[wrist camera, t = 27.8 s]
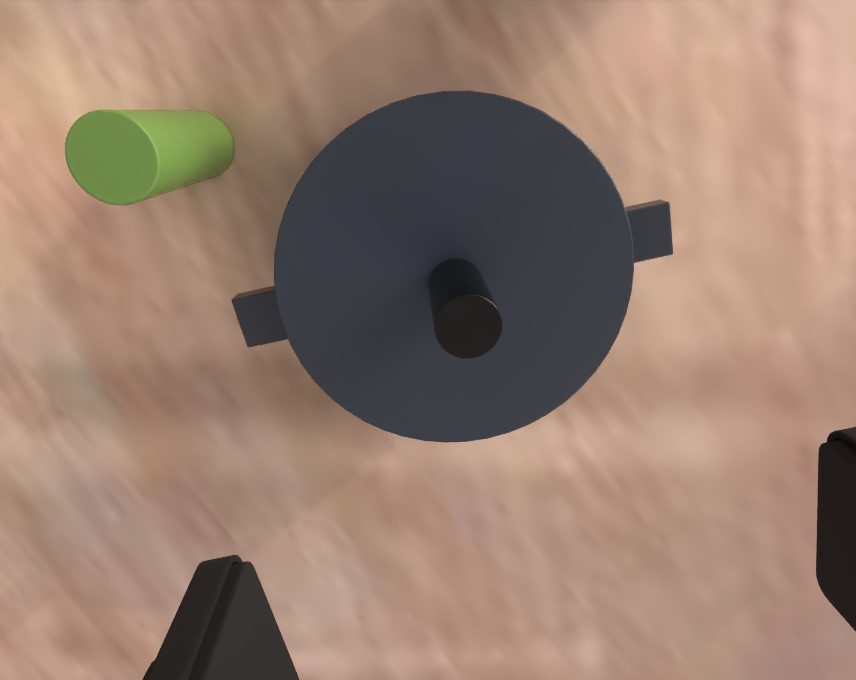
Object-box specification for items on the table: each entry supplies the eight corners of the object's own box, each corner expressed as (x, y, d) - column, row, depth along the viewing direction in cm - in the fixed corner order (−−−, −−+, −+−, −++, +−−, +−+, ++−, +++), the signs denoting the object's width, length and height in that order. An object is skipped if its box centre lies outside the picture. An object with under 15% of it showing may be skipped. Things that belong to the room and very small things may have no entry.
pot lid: (230, 139, 25) (172, 148, 18) (606, 51, 24) (676, 30, 18) (332, 459, 30) (314, 548, 24) (640, 394, 29) (703, 469, 23)
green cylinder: (159, 118, 30) (47, 121, 20) (222, 104, 30) (138, 100, 20) (182, 183, 31) (86, 214, 21) (242, 170, 31) (172, 194, 21)
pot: (221, 154, 30) (176, 164, 24) (612, 63, 30) (666, 50, 23) (304, 405, 35) (283, 466, 29) (638, 333, 35) (688, 380, 29)
